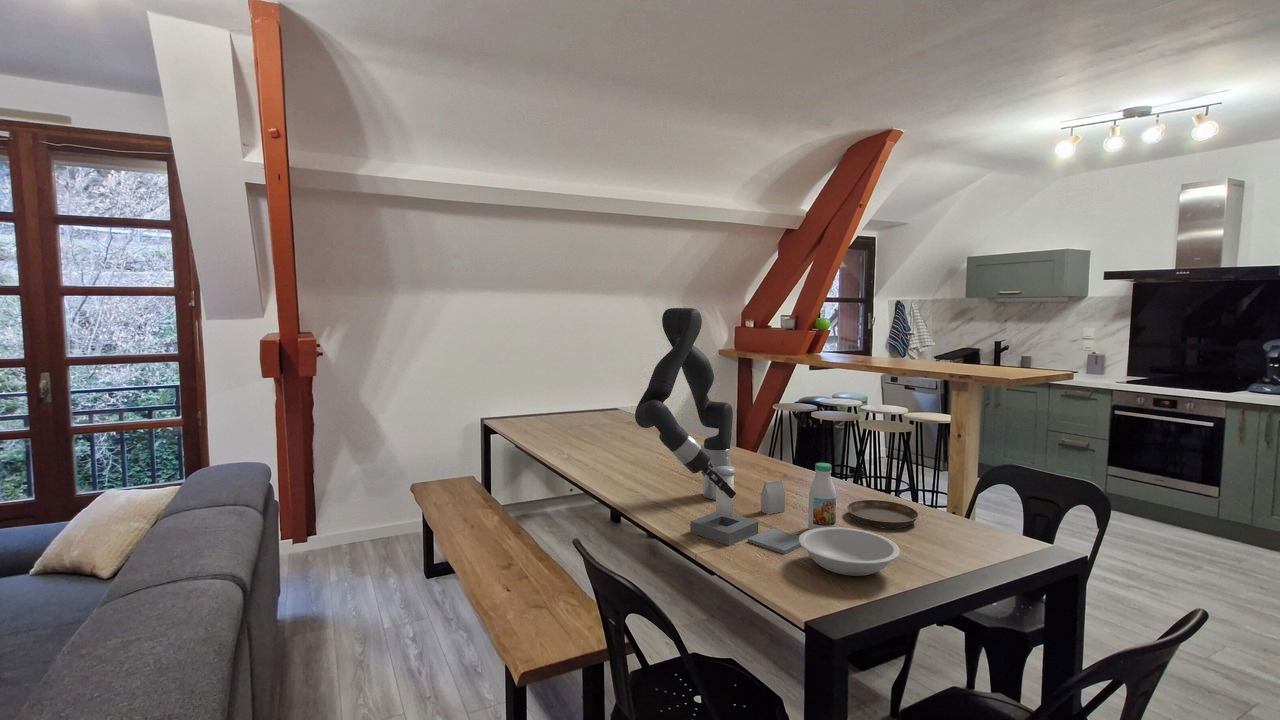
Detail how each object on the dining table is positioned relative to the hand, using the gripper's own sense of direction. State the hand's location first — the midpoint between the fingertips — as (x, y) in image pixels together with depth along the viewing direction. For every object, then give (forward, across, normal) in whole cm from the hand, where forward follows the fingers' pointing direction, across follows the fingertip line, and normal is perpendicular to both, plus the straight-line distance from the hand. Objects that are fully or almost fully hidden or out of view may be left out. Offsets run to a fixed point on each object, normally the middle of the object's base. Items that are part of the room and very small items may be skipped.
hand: (730, 492), depth 178 cm
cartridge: (+3, 0, +6) cm, 6 cm away
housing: (+7, 0, +10) cm, 12 cm away
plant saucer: (+44, +6, -27) cm, 52 cm away
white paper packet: (+22, +17, -5) cm, 28 cm away
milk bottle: (+28, -2, -11) cm, 30 cm away
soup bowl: (+24, -28, -7) cm, 38 cm away
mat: (+16, -9, 0) cm, 19 cm away
